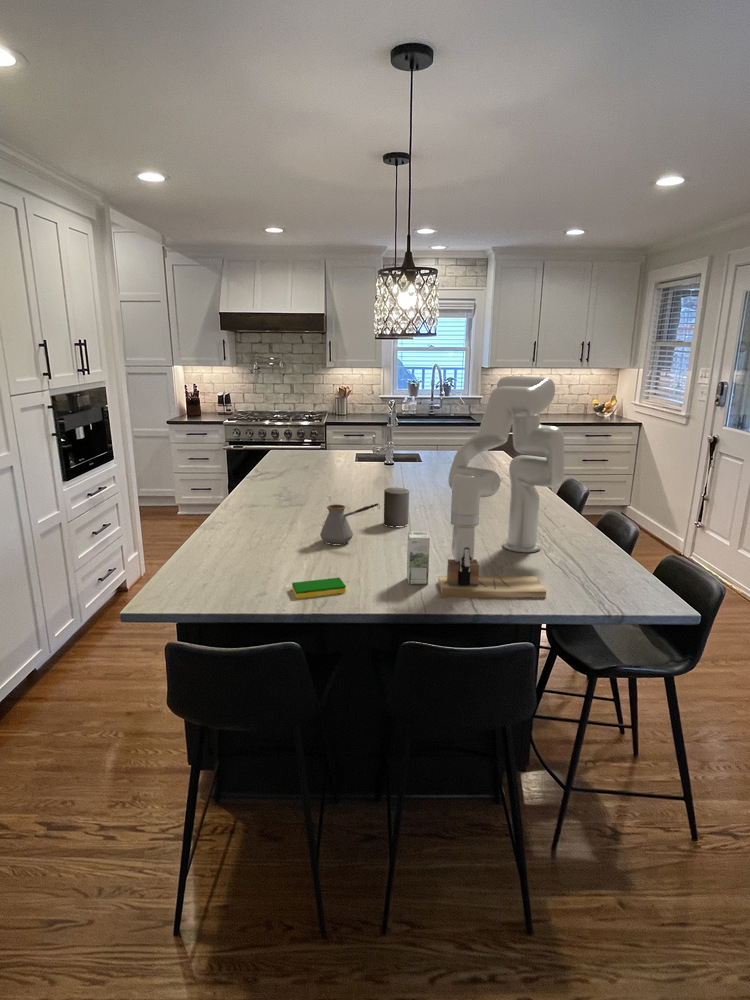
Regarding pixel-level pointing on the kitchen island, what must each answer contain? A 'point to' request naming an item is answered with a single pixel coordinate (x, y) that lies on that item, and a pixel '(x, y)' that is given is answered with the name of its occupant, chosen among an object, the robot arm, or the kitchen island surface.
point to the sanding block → (455, 567)
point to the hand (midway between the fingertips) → (462, 580)
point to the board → (495, 587)
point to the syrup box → (418, 558)
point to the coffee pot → (339, 524)
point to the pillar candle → (396, 506)
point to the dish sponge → (318, 587)
